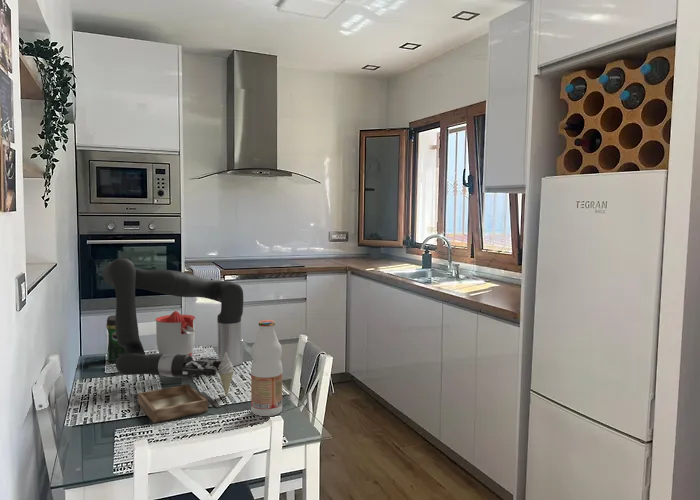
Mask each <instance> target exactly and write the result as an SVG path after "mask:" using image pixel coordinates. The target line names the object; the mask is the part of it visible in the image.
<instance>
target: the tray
mask: <svg viewBox="0 0 700 500" xmlns="http://www.w3.org/2000/svg"><path fill="white" fill-rule="evenodd" d="M209 403H210V404H211V405H212V406H213V407H215V409H219V408H222V405H220V404H219V403H218V401H215V400H214V399H213V398H212V397H211V396H210V395H208V394H207V393H206V392H204V391H200V392H198V391H197V390H196V389H195V388H194V387H192V386H191V385H190V383H189V384H188V383H187V384H182V385H177V386H171V387H165V388H159V389H155V390H149V391H143V392H138V393H137V404H138V405H140V406H139V408H141V409H142V410H143V412H144V413H145V414H146V416H147V417H148V419H150V421H151V422H152V423H153V424H155V423H160V422H165V421H169V420H174V419H179V418H183V417H188V416H192V415H197V414H202V413H207V412H208V410H209V409H208V407H209Z"/></svg>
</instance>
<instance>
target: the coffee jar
mask: <svg viewBox="0 0 700 500" xmlns="http://www.w3.org/2000/svg"><path fill="white" fill-rule="evenodd" d="M115 317H116V314H115V315H109V316H107V319H106V330H107V334H108V335H107V337H108V342H107V355H106V356H107V357H106V358H107V361H108V362H110V363H111V362H112V363H116V360H117V359H118V357H119V356H121V355H122V354H125V353H126V351H125V348H124V347H123V346H120V345H119V344H118V341H117V334H116V325H115Z"/></svg>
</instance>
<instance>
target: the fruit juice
mask: <svg viewBox="0 0 700 500" xmlns="http://www.w3.org/2000/svg"><path fill="white" fill-rule="evenodd" d="M258 327H259V331H258V332H257V335H256V339H255V341H254V343H253V345H252V347H251V356H252V363H251V367H250V368H251V369H250V370H251V371H250V378H251V379H250V380H251V381H250V387H251V388H250V389H251V391H250V393H251V394H250V397H251V398H250V400H251V401H250V404H251V406H250V408H251V413H252V414H253V415H254V414H255V416H257V415H259V416H258V417H262V416H268V417H272V416H273V417H274V416H277V415H279V414H280V413H281V412H282V411H283V410H282V409H283V363H282V360H281V356H282V352H283V348H282V344H281V343H280V340H279V339H278V336H277V333H276V331H275V327H276V321H275V320H273V319H263V320H262V319H261V320H259V321H258Z"/></svg>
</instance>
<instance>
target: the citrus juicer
mask: <svg viewBox="0 0 700 500" xmlns="http://www.w3.org/2000/svg"><path fill="white" fill-rule="evenodd" d="M195 320H196V316H194V315H192V314H180V312H178V311H177V310H173V312H172V313H171V314H170V315H163V316H160V317H159V316H158V317H156V318H155V321H156V324H155V326H156V329H155V330H156V332H155V333H156V347H157V351H158V354H180V355H190V356H191V357H192V355H193V350H194V347H195V338H196V337H195V336H196V334H195V333H196V332H195V331H196V330H195V322H196V321H195Z"/></svg>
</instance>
